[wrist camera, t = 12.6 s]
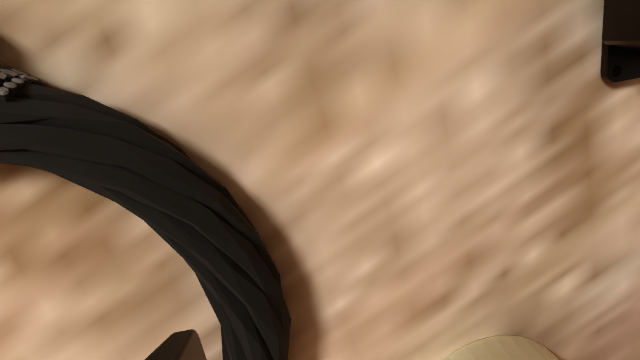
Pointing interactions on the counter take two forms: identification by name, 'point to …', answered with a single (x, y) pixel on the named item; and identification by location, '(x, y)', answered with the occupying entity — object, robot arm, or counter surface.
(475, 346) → the reusable coffee cup
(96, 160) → the cable lock
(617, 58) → the robot arm
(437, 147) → the counter surface
